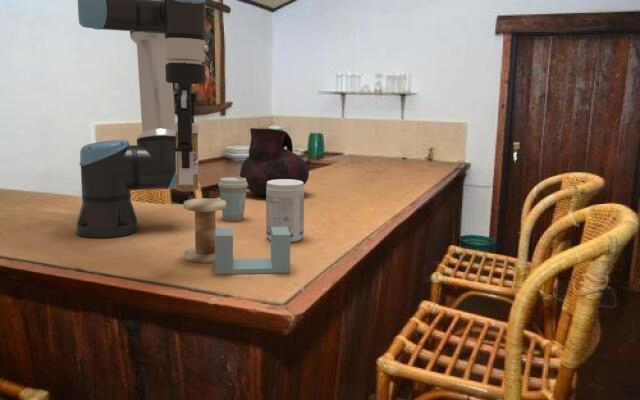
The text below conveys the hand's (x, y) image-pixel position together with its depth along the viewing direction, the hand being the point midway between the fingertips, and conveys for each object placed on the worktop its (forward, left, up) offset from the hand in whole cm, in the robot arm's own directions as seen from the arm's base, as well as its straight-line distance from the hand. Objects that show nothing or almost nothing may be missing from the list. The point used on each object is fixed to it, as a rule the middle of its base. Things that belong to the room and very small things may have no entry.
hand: (187, 181), depth 108 cm
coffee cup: (+9, +45, -18) cm, 50 cm away
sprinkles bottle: (0, 0, -2) cm, 2 cm away
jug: (+24, +85, -18) cm, 91 cm away
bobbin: (+3, +7, -18) cm, 20 cm away
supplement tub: (+22, +22, -18) cm, 36 cm away
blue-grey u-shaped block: (+13, -2, -18) cm, 22 cm away
